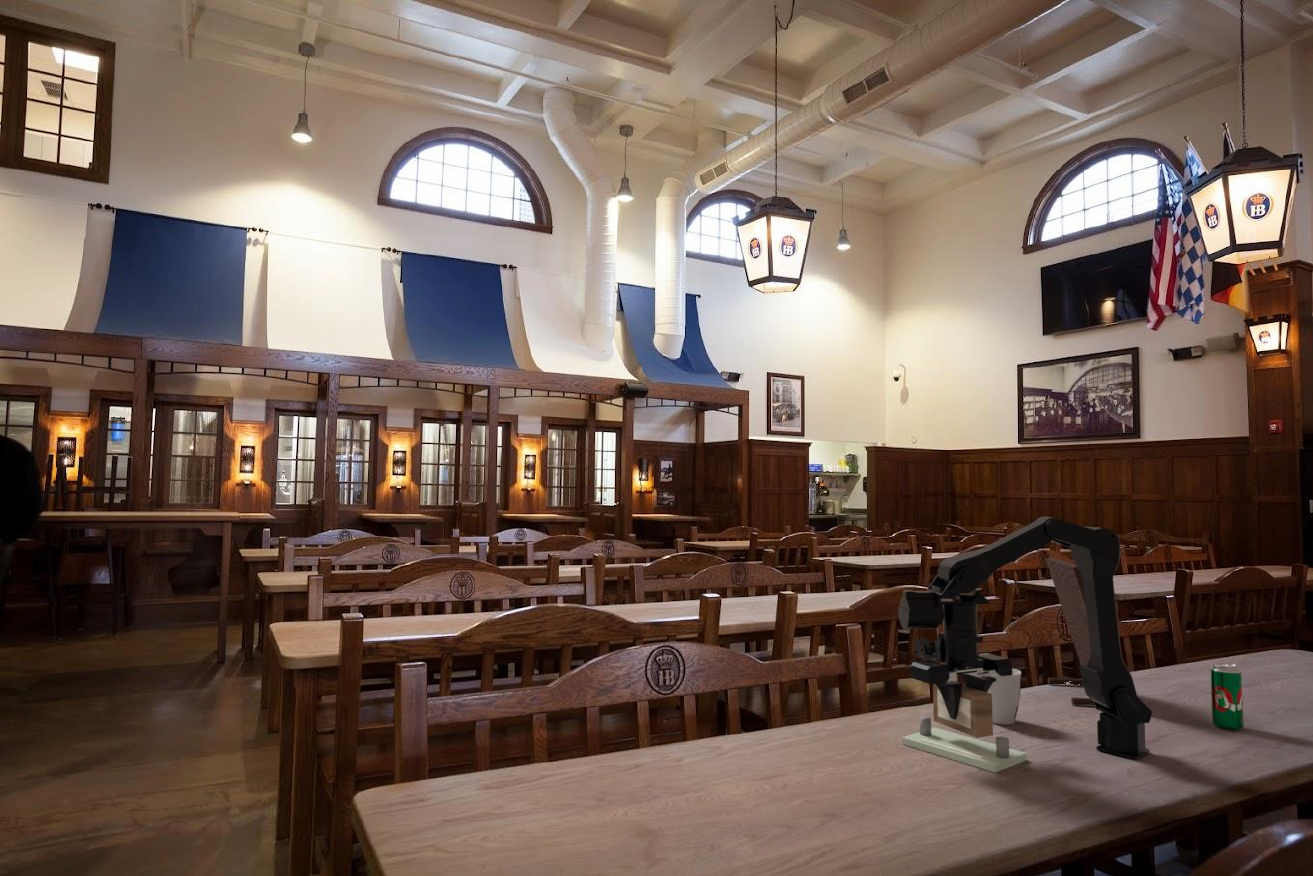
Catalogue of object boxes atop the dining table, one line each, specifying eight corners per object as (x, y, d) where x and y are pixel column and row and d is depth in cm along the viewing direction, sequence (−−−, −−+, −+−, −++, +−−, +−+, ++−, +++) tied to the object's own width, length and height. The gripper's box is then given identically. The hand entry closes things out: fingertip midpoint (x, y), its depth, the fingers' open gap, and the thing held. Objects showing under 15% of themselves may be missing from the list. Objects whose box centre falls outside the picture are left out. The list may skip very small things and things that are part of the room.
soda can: (1233, 724, 157) (1231, 662, 158) (1250, 731, 152) (1247, 668, 153) (1206, 723, 157) (1204, 662, 158) (1222, 731, 152) (1219, 667, 153)
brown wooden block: (993, 735, 136) (991, 694, 136) (976, 738, 135) (975, 696, 135) (949, 718, 146) (948, 680, 146) (933, 721, 144) (932, 682, 145)
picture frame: (1128, 709, 167) (1123, 566, 169) (1074, 706, 169) (1070, 565, 171) (1094, 685, 187) (1090, 558, 189) (1046, 683, 189) (1043, 557, 191)
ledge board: (1026, 760, 136) (1026, 735, 136) (995, 772, 130) (994, 746, 130) (934, 733, 150) (934, 711, 150) (902, 744, 144) (901, 720, 144)
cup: (1029, 727, 154) (1028, 675, 155) (987, 727, 155) (986, 675, 155) (1011, 715, 162) (1010, 666, 163) (972, 715, 163) (971, 665, 163)
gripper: (967, 618, 152) (969, 701, 151) (888, 625, 145) (890, 711, 144) (1013, 628, 142) (1015, 716, 141) (930, 635, 135) (932, 728, 134)
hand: (962, 717), depth 140 cm, fingers closed on brown wooden block, 4 cm apart
